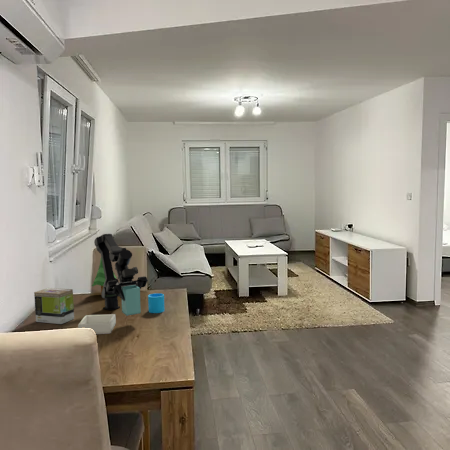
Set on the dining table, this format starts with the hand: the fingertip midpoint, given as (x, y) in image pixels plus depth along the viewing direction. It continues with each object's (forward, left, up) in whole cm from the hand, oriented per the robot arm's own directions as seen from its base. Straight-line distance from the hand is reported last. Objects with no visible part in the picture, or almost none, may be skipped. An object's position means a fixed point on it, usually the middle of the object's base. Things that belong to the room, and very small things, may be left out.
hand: (131, 299), depth 200 cm
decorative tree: (-54, +32, -12) cm, 64 cm away
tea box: (-37, -14, -12) cm, 42 cm away
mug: (-7, +24, -12) cm, 28 cm away
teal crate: (-1, +1, -7) cm, 7 cm away
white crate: (-9, -12, -12) cm, 20 cm away
